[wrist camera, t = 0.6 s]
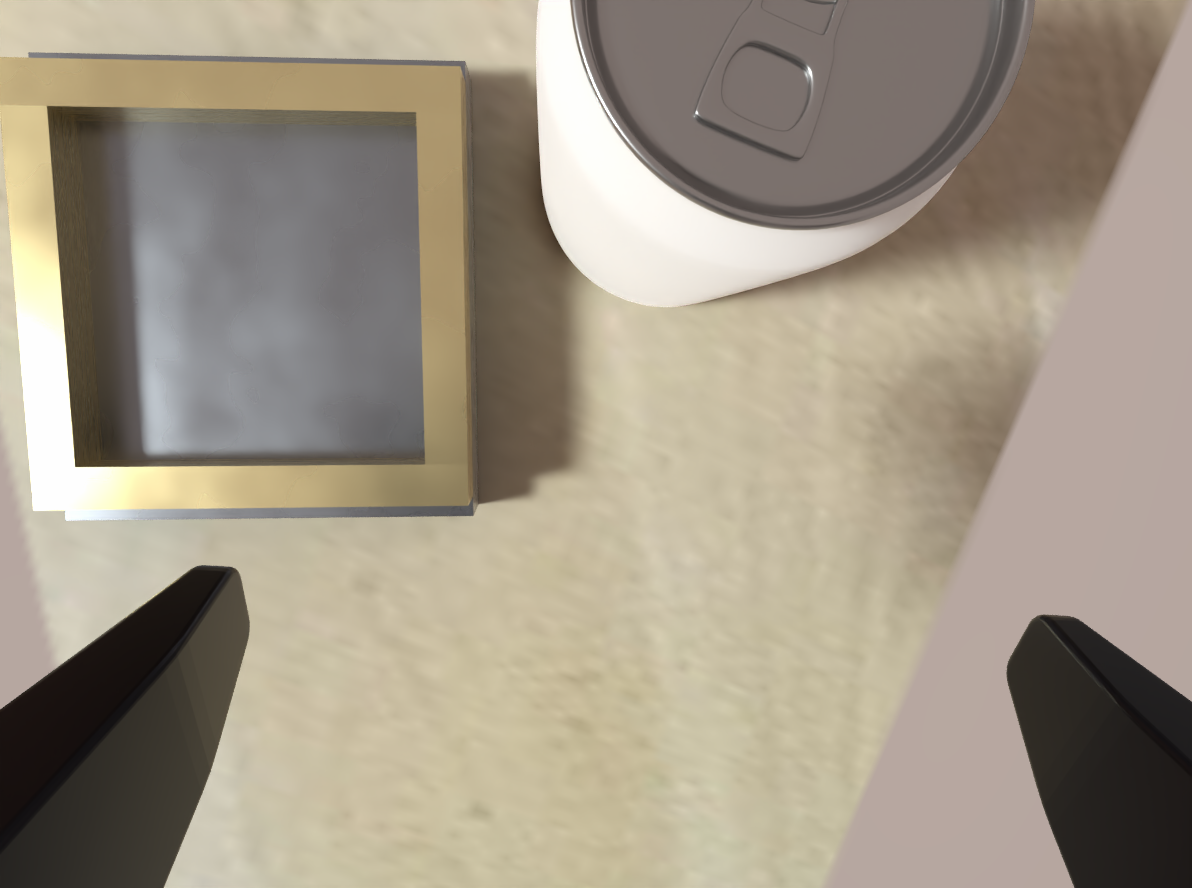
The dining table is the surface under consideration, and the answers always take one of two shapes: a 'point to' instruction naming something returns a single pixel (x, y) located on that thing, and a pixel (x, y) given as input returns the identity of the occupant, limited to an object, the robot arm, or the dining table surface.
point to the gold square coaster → (243, 284)
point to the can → (756, 130)
